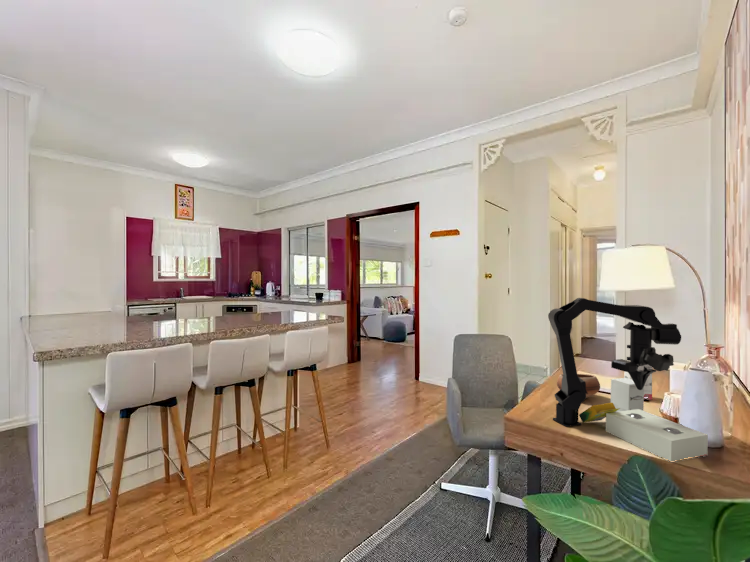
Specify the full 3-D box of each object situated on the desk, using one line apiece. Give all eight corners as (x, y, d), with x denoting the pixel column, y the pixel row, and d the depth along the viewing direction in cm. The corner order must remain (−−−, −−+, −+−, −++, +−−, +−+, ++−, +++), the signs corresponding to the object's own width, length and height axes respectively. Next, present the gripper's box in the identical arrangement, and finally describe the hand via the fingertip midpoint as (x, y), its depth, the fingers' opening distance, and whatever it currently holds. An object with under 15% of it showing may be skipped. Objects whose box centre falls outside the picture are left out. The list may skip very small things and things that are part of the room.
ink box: (644, 395, 151) (645, 368, 151) (652, 400, 146) (653, 371, 146) (622, 395, 152) (623, 367, 152) (630, 399, 147) (630, 370, 147)
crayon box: (597, 411, 126) (616, 400, 117) (601, 420, 124) (621, 409, 115) (577, 414, 125) (596, 402, 116) (582, 423, 123) (600, 411, 114)
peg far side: (674, 452, 102) (674, 432, 101) (663, 447, 104) (663, 428, 104) (681, 450, 102) (682, 431, 102) (670, 445, 105) (670, 426, 105)
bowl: (577, 389, 159) (578, 367, 158) (609, 402, 144) (609, 377, 143) (548, 392, 155) (548, 369, 154) (577, 405, 139) (578, 380, 139)
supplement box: (628, 419, 126) (629, 384, 126) (609, 411, 133) (610, 378, 133) (644, 417, 128) (645, 382, 128) (624, 410, 135) (625, 377, 135)
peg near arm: (636, 435, 112) (636, 417, 112) (627, 431, 115) (627, 413, 115) (643, 434, 113) (644, 416, 113) (634, 430, 116) (634, 412, 116)
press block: (671, 462, 97) (671, 440, 97) (605, 431, 116) (606, 413, 116) (707, 455, 101) (707, 434, 101) (638, 426, 120) (638, 409, 120)
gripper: (643, 349, 108) (642, 400, 108) (687, 346, 113) (686, 395, 114) (610, 342, 119) (609, 389, 119) (652, 340, 124) (651, 384, 124)
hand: (639, 389), depth 119 cm, fingers closed
